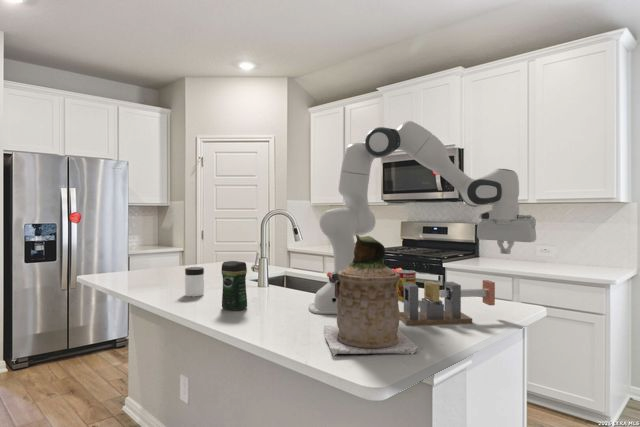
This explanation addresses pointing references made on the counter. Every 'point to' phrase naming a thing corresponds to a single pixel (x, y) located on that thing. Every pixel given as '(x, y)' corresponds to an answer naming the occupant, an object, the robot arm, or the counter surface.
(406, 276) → the canned food
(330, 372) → the counter surface
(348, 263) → the robot arm
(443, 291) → the shaft
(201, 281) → the jar
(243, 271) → the coffee jar
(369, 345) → the cookie jar
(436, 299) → the frame
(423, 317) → the shaft rig
